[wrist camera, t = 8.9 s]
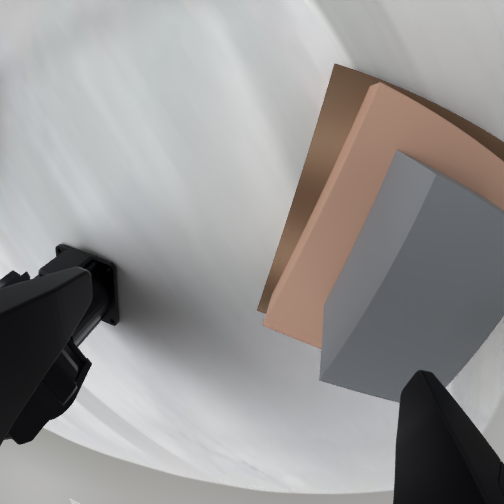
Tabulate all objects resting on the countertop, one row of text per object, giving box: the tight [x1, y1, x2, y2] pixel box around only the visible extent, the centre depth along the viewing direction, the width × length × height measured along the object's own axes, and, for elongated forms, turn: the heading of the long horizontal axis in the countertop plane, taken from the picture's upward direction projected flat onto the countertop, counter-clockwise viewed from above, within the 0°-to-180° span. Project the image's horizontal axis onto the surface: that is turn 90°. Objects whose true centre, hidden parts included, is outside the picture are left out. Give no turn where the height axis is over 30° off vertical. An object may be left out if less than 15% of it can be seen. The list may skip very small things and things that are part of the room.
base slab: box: [257, 64, 504, 314], centre depth 18 cm, size 15×11×3 cm
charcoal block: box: [319, 149, 504, 402], centre depth 11 cm, size 8×5×5 cm, turn 163°
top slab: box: [263, 82, 504, 349], centre depth 15 cm, size 13×9×3 cm
